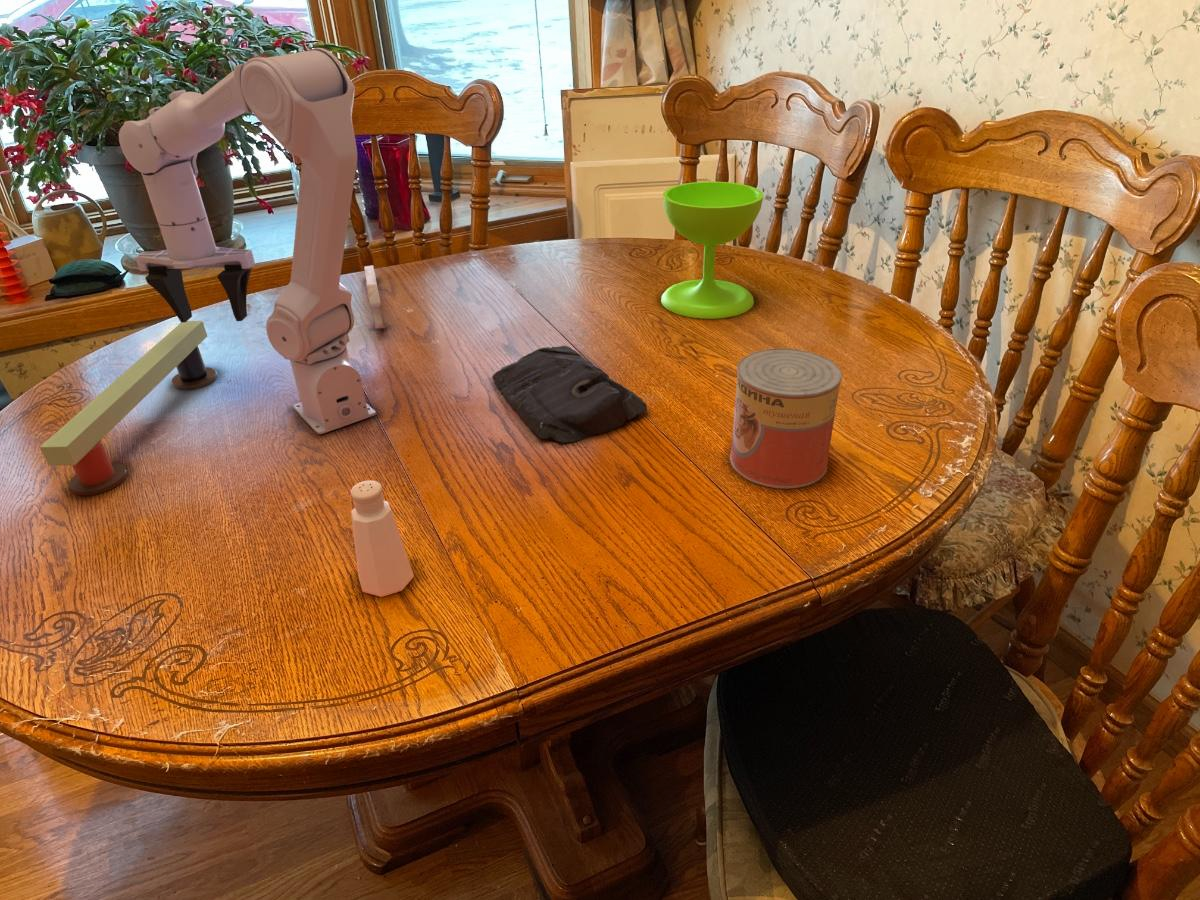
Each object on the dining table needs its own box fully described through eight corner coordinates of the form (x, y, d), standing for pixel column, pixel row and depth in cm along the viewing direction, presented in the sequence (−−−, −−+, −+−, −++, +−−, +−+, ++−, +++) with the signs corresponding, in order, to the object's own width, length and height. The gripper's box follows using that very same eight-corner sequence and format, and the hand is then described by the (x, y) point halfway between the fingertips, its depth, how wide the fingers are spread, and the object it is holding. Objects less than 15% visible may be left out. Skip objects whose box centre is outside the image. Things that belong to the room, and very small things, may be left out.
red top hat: (132, 482, 92) (117, 446, 89) (75, 502, 89) (57, 465, 86) (121, 461, 96) (106, 426, 93) (66, 479, 93) (49, 443, 90)
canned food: (713, 447, 95) (719, 358, 88) (793, 428, 98) (804, 341, 92) (760, 498, 86) (771, 403, 80) (847, 475, 89) (863, 383, 83)
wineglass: (647, 290, 139) (648, 187, 129) (729, 278, 143) (736, 177, 133) (681, 324, 126) (685, 212, 116) (771, 310, 130) (781, 201, 120)
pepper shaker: (418, 559, 79) (401, 469, 73) (409, 596, 74) (389, 504, 68) (365, 561, 79) (342, 471, 73) (352, 599, 74) (327, 506, 68)
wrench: (378, 293, 149) (387, 337, 123) (369, 294, 148) (375, 339, 122) (370, 250, 145) (378, 287, 119) (360, 251, 145) (365, 289, 119)
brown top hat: (222, 380, 113) (212, 349, 111) (178, 393, 110) (167, 362, 108) (210, 366, 117) (200, 336, 115) (168, 379, 114) (156, 348, 112)
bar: (75, 465, 86) (66, 446, 85) (48, 466, 86) (39, 447, 85) (207, 336, 115) (202, 320, 113) (187, 336, 115) (182, 321, 113)
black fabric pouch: (580, 354, 118) (579, 325, 115) (655, 419, 101) (656, 386, 98) (485, 378, 112) (481, 348, 109) (548, 450, 95) (545, 417, 93)
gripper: (109, 230, 96) (147, 332, 103) (226, 227, 95) (255, 329, 103) (138, 213, 101) (172, 311, 109) (248, 211, 101) (274, 309, 109)
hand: (214, 319), depth 106 cm, fingers open, 7 cm apart
